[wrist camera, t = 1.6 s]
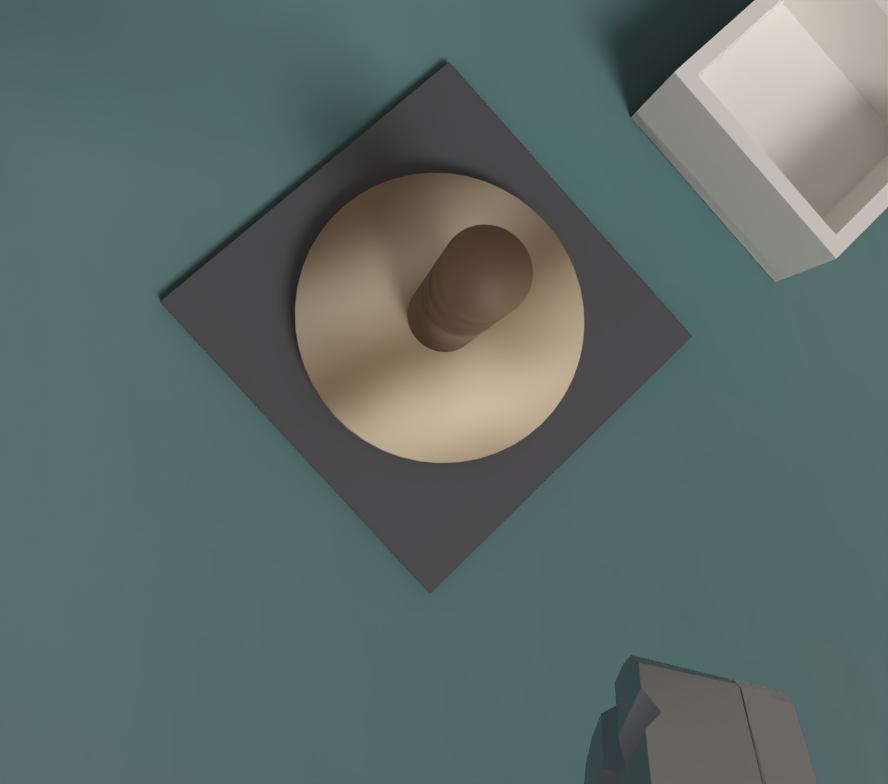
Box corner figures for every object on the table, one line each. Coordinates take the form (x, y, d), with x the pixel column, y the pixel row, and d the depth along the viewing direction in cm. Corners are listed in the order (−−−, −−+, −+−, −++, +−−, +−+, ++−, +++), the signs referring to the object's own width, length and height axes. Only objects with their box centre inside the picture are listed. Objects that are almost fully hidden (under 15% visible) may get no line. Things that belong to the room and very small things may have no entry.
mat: (161, 303, 34) (160, 301, 34) (447, 66, 37) (449, 61, 37) (428, 592, 35) (430, 593, 35) (687, 337, 38) (691, 336, 38)
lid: (232, 306, 34) (210, 250, 25) (446, 125, 37) (493, 15, 28) (433, 523, 35) (479, 542, 26) (631, 331, 37) (735, 289, 28)
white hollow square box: (630, 117, 38) (674, 72, 34) (774, -12, 40) (833, -70, 36) (775, 282, 39) (836, 258, 35) (910, 147, 41) (984, 109, 36)
